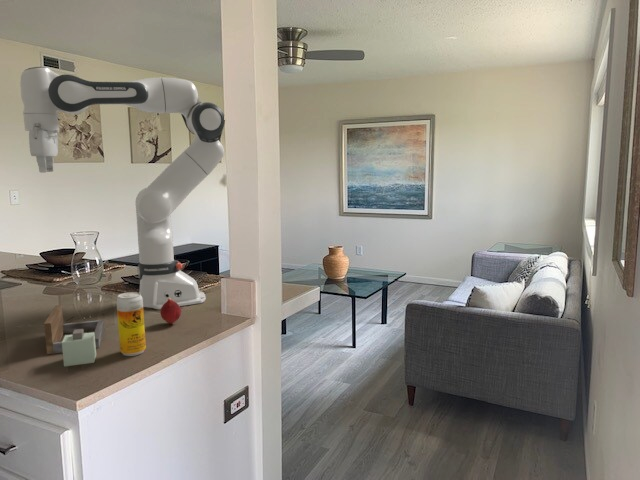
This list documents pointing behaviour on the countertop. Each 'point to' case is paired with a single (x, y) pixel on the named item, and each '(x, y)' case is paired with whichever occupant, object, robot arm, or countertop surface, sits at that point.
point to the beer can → (131, 323)
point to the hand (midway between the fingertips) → (46, 172)
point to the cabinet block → (79, 348)
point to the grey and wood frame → (67, 330)
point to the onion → (170, 311)
